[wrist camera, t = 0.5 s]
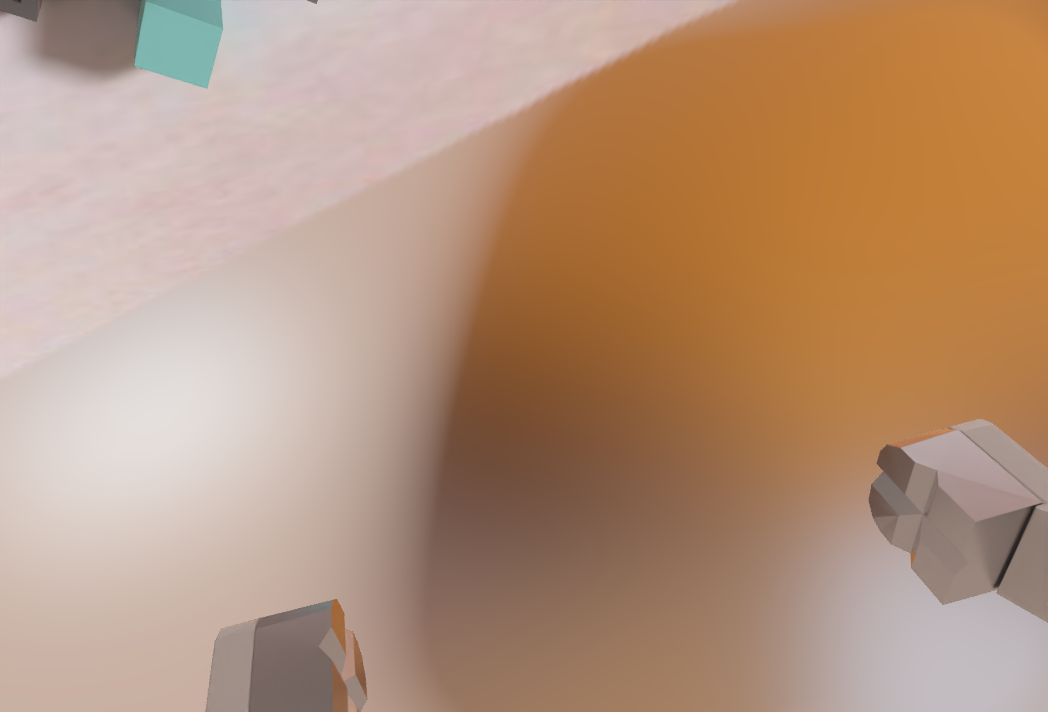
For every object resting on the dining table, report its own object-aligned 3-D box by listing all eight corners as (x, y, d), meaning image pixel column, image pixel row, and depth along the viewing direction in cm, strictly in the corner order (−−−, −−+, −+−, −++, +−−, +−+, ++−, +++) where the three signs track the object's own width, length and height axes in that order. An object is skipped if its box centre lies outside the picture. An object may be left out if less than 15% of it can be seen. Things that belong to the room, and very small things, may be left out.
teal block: (148, -43, 43) (146, 1, 39) (219, -16, 45) (222, 28, 41) (137, 18, 45) (134, 65, 41) (205, 41, 47) (207, 88, 43)
